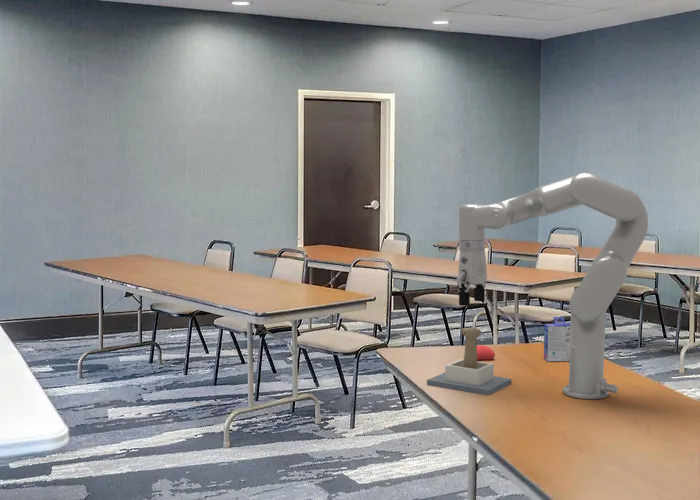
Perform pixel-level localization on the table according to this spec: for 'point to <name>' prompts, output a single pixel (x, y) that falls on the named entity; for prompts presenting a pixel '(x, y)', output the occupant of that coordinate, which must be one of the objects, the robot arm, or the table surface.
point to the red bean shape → (484, 353)
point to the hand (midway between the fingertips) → (472, 303)
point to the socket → (470, 378)
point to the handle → (470, 347)
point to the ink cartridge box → (557, 340)
